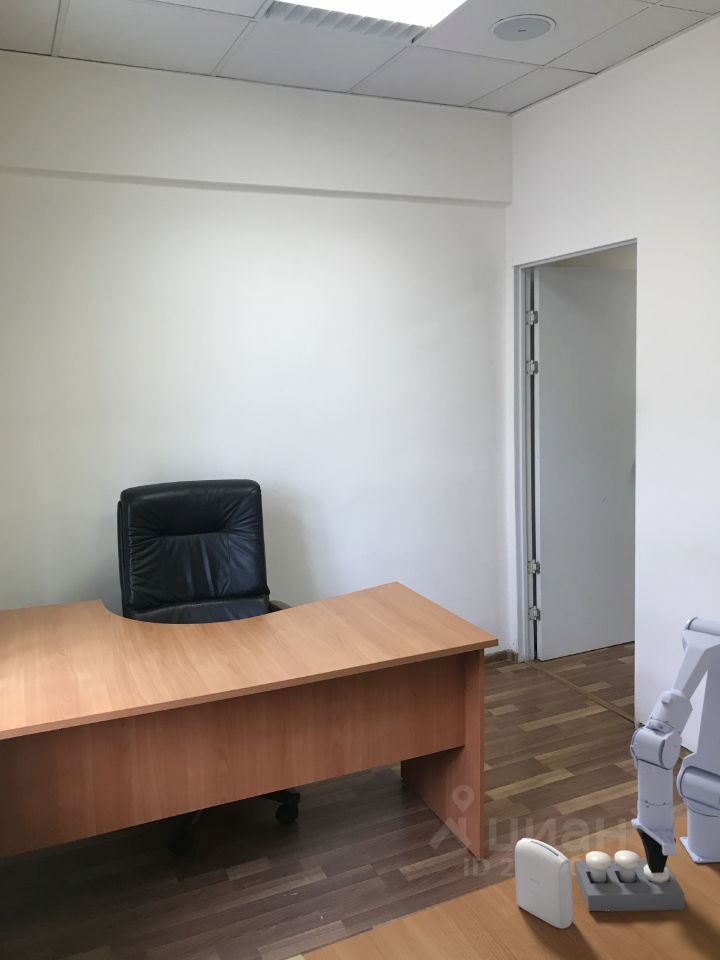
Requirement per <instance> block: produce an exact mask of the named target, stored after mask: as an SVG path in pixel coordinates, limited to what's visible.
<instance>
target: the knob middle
mask: <svg viewBox="0 0 720 960" xmlns="http://www.w3.org/2000/svg"><path fill="white" fill-rule="evenodd" d="M614 860H615V864H616V865H617V866H619V867H620V879H621V880H622V881H624V882H627V883H631V882H634V881H635V869H637V868H638V867H639V866H640V860H641V858H640V856H639V854H638V853H636V852H634V851H631V850H625V849H624V850H618V851H617V852H615V854H614Z"/></svg>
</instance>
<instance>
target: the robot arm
mask: <svg viewBox="0 0 720 960" xmlns="http://www.w3.org/2000/svg"><path fill="white" fill-rule="evenodd" d="M681 636H682V637H681V639H682V640H681V642H682V648H683V654H682V657H681V660H680V662H679V664H678V668H677V671H676V673H675V676H674V678H673V681H672V684H671V687H670V690H665V691H662V692H661V693H660V694H659V697H658V699H657V700H656V702H655V705H654V706H653V709H652V711H651V713H650V715H649V717H648V719H647V721H646V723H645V726H642V727H639V728H637V729H636V730H635V732H634V733H633V735H632V738H631V742H630V743H631V744H630V745H629V751H630V755H631V757H632V758H633V762H634V763H633V765H634V768H635V769H636V770H637V802H636V803H637V804H636V805H637V807H636V809H637V817H636V818H632V819H631V820H630V821H631V825H632V827H633V828H634V829H635V830H636V831H637V834H638V835H639V838H640V840H641V843H642V846H643V849H644V853H645V858H646V859H647V863H648V867H649V869H650V871H651V873H663V872H664V869H665V865H666V863H667V862H668V858H669V856H676V855H677V844H676V843H677V839H676V838H675V828H676V827H675V824H676V823H675V821H674V766H675V765H676V764H677V761H678V760H679V758H680V754H681V745H682V742H683V737H682V733H683V732H684V730H685V727H686V725H687V723H688V721H689V719H690V717H691V714H692V712H693V709H694V708H693V705H692V702H691V699H692V697H693V695H694V693H695V692H696V690H697V688H698V687H699V685H700V683H701V682H702V680H703V678H704V677H705V675H706V679H705V688H704V693H703V694H704V695H703V703H702V709H701V717H700V722H699V724H700V725H699V733H698V739H697V745H696V746H697V747H696V751H695V752H693V753H689V754H688V755H686V756H685V757H684V758H682V761H681V767H680V769H679V772H678V774H677V778H676V789H677V793H678V795H679V796H680V797H681V798H683V804H685V805H686V806H687V815H686V817H687V827H686V828H687V829H686V830H687V831H686V832H687V836H681V837H679V841H680V842H681V844H682V846H683V847H684V849H685V850H686V851H687V853H688V855H689V856H690V858H691V859H692V861H693V862H694V863H697V864H698V863H720V621H715V620H709V619H706V618H705V619H704V618H700V617H698V616H692V617H690V618H689V619H688V620H687V621H686V623H685V624H684V626H683V631H682V635H681Z"/></svg>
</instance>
